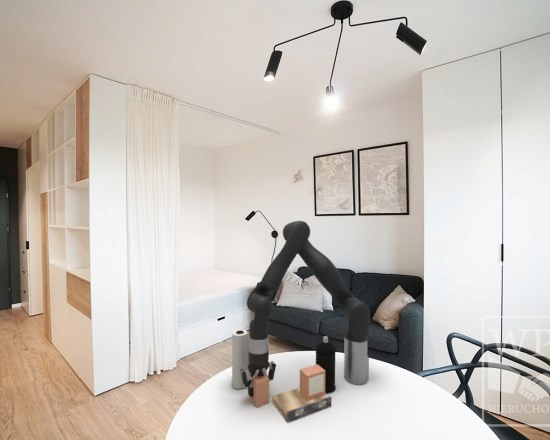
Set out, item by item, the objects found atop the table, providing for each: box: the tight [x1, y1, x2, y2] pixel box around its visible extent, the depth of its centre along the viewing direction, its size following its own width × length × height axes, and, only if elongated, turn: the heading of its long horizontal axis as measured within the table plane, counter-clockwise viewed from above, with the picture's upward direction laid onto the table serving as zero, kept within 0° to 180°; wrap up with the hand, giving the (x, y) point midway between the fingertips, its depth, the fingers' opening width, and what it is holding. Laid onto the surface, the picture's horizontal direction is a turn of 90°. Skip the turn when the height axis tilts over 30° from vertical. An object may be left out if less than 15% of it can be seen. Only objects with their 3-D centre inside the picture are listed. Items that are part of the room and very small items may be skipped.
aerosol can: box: [315, 335, 337, 394], centre depth 109 cm, size 8×8×20 cm
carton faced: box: [299, 364, 326, 401], centre depth 102 cm, size 8×5×9 cm, turn 117°
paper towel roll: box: [231, 329, 249, 390], centre depth 110 cm, size 7×6×21 cm
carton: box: [247, 371, 270, 409], centre depth 102 cm, size 8×5×9 cm, turn 27°
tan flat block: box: [271, 387, 332, 423], centre depth 99 cm, size 18×12×3 cm, turn 117°
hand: (258, 393), depth 102 cm, fingers closed on carton, 5 cm apart
